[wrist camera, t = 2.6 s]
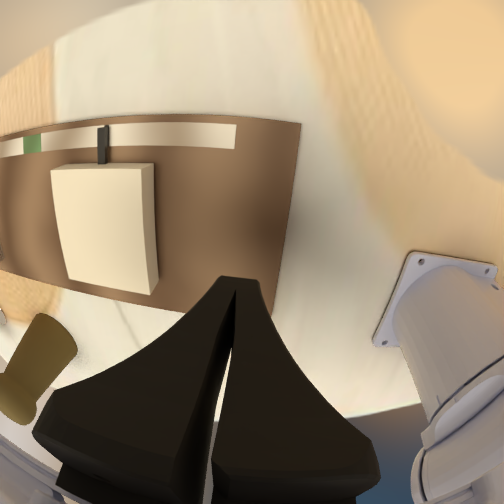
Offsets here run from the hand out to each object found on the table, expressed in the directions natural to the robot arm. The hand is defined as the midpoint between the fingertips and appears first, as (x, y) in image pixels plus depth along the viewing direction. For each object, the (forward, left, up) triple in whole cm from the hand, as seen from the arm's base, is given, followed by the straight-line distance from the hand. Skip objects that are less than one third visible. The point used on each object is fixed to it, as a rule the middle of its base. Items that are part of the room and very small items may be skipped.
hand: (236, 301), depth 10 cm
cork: (+19, +14, -7) cm, 25 cm away
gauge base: (+11, 0, -7) cm, 13 cm away
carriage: (+8, -1, -5) cm, 10 cm away
